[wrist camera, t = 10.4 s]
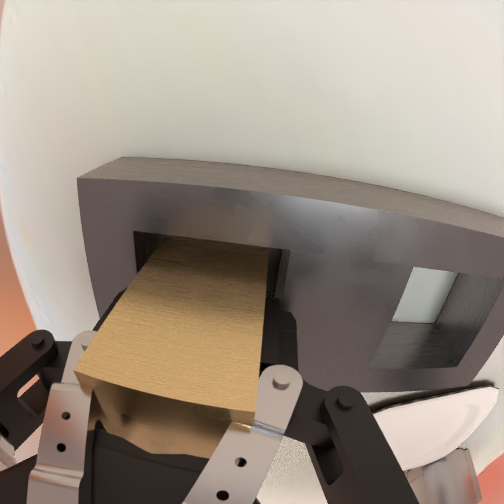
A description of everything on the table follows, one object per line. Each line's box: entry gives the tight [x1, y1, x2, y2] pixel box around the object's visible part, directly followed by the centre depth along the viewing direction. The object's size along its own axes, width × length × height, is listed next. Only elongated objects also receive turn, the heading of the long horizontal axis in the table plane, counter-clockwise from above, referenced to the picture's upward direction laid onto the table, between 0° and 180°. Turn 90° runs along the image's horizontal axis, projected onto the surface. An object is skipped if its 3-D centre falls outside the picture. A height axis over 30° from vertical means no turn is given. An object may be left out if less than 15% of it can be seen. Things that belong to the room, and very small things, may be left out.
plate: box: [372, 385, 499, 471], centre depth 24 cm, size 18×18×2 cm
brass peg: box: [73, 235, 269, 459], centre depth 10 cm, size 4×4×8 cm
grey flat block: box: [77, 157, 504, 392], centre depth 14 cm, size 22×10×4 cm, turn 84°
